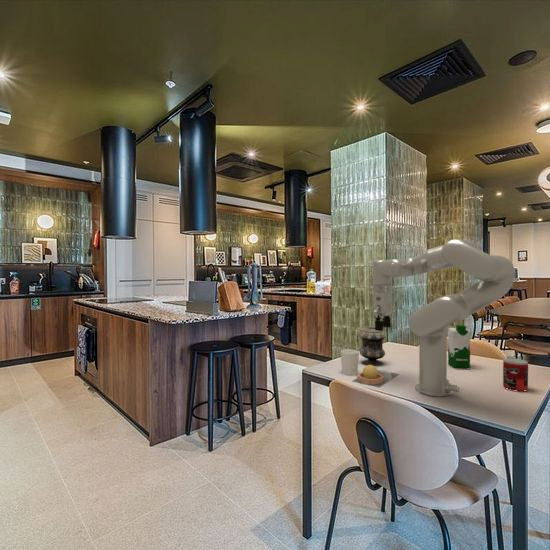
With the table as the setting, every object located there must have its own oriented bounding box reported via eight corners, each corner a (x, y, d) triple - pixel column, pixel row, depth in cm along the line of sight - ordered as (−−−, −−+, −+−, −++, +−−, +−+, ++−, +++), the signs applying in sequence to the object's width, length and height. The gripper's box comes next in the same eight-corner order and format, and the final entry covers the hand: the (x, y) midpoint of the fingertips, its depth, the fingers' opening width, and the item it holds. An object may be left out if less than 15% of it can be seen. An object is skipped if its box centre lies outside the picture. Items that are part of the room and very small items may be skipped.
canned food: (498, 385, 139) (499, 358, 139) (519, 385, 139) (519, 358, 139) (511, 392, 132) (511, 363, 132) (532, 392, 132) (533, 363, 131)
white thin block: (391, 379, 146) (391, 372, 146) (390, 380, 145) (390, 373, 145) (364, 374, 153) (364, 367, 153) (363, 374, 153) (363, 368, 153)
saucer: (387, 380, 145) (387, 375, 145) (376, 386, 137) (376, 381, 137) (364, 375, 151) (364, 370, 151) (353, 381, 144) (353, 376, 144)
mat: (399, 374, 153) (399, 374, 153) (379, 388, 137) (379, 387, 137) (374, 369, 161) (374, 369, 161) (351, 382, 144) (351, 381, 144)
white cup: (359, 376, 151) (359, 353, 151) (340, 375, 153) (340, 353, 153) (358, 371, 159) (358, 349, 159) (340, 370, 161) (340, 349, 160)
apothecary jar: (390, 364, 170) (390, 327, 169) (374, 368, 163) (374, 330, 162) (370, 359, 180) (370, 324, 179) (354, 363, 173) (354, 327, 172)
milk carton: (453, 369, 161) (453, 326, 161) (445, 364, 170) (445, 323, 170) (472, 369, 161) (473, 326, 160) (464, 364, 170) (464, 323, 169)
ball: (380, 379, 145) (380, 364, 145) (374, 382, 140) (374, 367, 140) (366, 376, 148) (366, 362, 148) (360, 379, 144) (360, 365, 144)
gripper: (384, 290, 140) (384, 332, 140) (397, 288, 154) (398, 326, 154) (366, 289, 144) (366, 331, 144) (380, 287, 158) (381, 325, 158)
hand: (383, 328), depth 149 cm, fingers open, 9 cm apart
